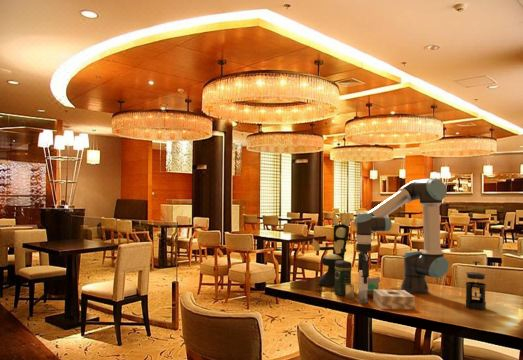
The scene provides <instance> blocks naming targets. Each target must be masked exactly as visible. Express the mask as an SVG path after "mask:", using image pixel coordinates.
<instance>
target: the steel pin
mask: <svg viewBox="0 0 523 360" xmlns="http://www.w3.org/2000/svg"><path fill="white" fill-rule="evenodd" d="M361 276H363V272H362V270H359V272H358V303H359V304H368V297H367V291H368V290H362V277H361Z"/></svg>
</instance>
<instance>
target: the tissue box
mask: <svg viewBox="0 0 523 360" xmlns="http://www.w3.org/2000/svg"><path fill="white" fill-rule="evenodd" d="M372 299H373V300H372V301H373V303H374V304H375V305H377V306H378V308H380V309H382V310H384V309H385V310H414V309H416V308H415V307H416V297H415V296H414V295H413V294H412V293H408V292H406V291H405V290H401V289H378V290H375V289H373V297H372Z"/></svg>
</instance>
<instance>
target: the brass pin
mask: <svg viewBox="0 0 523 360" xmlns="http://www.w3.org/2000/svg"><path fill="white" fill-rule="evenodd" d="M344 297H345V299H348V300H354V299H355V285H354V284H353V283H351V284H346V289H345V296H344Z"/></svg>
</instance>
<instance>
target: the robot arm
mask: <svg viewBox="0 0 523 360" xmlns="http://www.w3.org/2000/svg"><path fill="white" fill-rule="evenodd" d="M447 191H448V189H447V186H446V185H445V183H444V182H443V181H442V180H441V179H439V178H417V179H414V180H411V181H410V182H408V183H406V184H404V185H403V186H401V187H400V188H399V189H397V192H396V193H394V194H393V195H391V196H390V197H388V198H387V199H385V200H384V201H382V202H381V203H379V204H378V205H377V206H375V207H374V208H371V210H369V211H368V212H358V213H357V215H356V216H355V218H354V221H353V224H354V226H355V227H356V236H355V239H356V247H355V248H356V249H355V250H356V251H357V252H359V253H358V255H357V257H358V262H357V264H358V266H357V272H358V273H359V270H362V272H363V276H361V277H362V290H368V278H369V277H370V255H369V254H368V253H369V252H371V251H372V239H373V238H372V237H373V236H372V232H389V231H390V230H391V229H392V227H393V226H392V225H393V224H392V219H390V218H389V217H388V216H389V215H390V214H391V213H393V212H395V211H397V209H399V208H400V207H402V206H404V205H405V204H409V203H411V202H412V201H416V200H419V204H420V205H421V206H422V219H423V220H422V222H423V223H422V225H423V226H422V227H423V228H422V229H423V249H422V250H421V251H419V250H418V251H417V250H416V251H414V250H413V251H405V252H404V258H403V271H404V272H403V273H404V274H403V279H402V283H401V285H400V290H405V291H406V292H408V293H409V294H416V295H417V294H418V295H419V294H420V295H423V294H428V293H429V287H428V283H427V280H426V276H427V277H430V278H434V279H441V278H443V277H444V276H445V275H446V274H447V273H448V271H449V268H450V265H449V264H450V263H449V261H448V259H447V258H446V257H445V255H444V254H445V253H444V251H442V249H441V247H442V246H441V224H440V223H441V220H440V219H441V217H440V213H441V212H440V206H441V205H442V204H443V200H444V199H445V198H446V196H447Z"/></svg>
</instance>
